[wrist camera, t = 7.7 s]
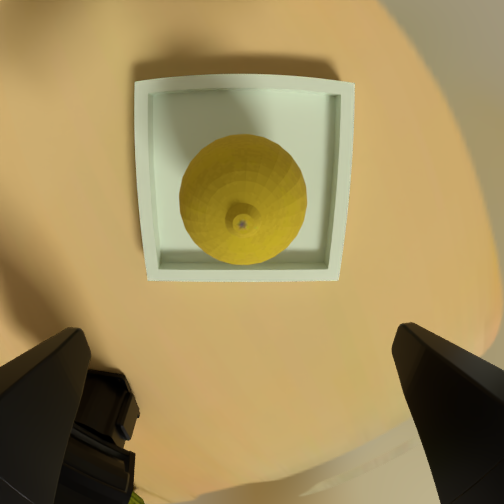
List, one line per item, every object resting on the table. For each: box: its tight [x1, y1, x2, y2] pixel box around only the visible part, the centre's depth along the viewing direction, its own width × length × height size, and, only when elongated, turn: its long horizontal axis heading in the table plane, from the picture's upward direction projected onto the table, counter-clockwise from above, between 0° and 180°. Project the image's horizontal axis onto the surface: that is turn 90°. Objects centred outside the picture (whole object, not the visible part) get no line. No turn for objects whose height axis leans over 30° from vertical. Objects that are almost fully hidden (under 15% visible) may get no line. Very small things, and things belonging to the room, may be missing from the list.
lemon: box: [179, 134, 307, 265], centre depth 13 cm, size 6×6×8 cm
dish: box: [134, 74, 355, 282], centre depth 17 cm, size 12×12×2 cm
